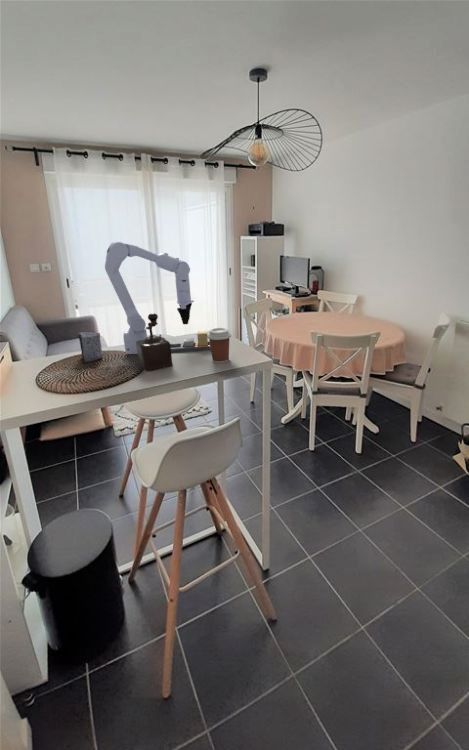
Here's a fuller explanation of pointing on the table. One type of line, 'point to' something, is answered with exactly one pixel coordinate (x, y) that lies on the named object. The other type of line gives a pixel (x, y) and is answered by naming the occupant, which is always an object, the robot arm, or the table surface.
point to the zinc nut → (189, 342)
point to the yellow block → (202, 338)
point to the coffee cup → (219, 344)
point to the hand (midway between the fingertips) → (186, 321)
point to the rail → (182, 349)
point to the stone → (90, 346)
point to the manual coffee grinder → (154, 349)
